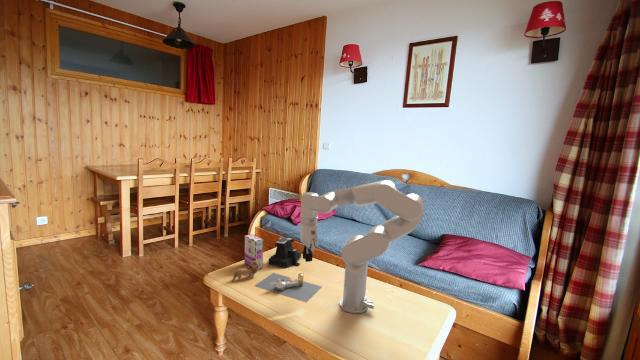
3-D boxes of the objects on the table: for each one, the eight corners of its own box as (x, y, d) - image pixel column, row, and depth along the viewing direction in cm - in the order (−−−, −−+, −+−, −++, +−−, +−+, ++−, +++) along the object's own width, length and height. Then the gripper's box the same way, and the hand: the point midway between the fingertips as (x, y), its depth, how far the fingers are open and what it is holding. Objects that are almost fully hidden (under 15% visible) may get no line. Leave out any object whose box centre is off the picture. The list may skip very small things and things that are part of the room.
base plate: (322, 289, 151) (322, 286, 151) (306, 304, 137) (306, 302, 136) (273, 274, 163) (273, 272, 163) (254, 288, 149) (254, 285, 148)
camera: (282, 233, 188) (305, 235, 181) (284, 256, 190) (306, 259, 183) (267, 241, 174) (290, 244, 167) (268, 266, 175) (292, 270, 169)
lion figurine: (255, 274, 162) (256, 258, 161) (261, 278, 158) (261, 261, 157) (228, 282, 153) (228, 265, 151) (233, 287, 149) (233, 269, 147)
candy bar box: (263, 268, 170) (263, 239, 167) (255, 271, 166) (255, 241, 164) (251, 261, 177) (252, 233, 175) (243, 263, 174) (244, 235, 171)
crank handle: (271, 293, 142) (271, 282, 141) (267, 286, 148) (267, 276, 147) (305, 287, 149) (305, 277, 148) (300, 281, 154) (301, 271, 153)
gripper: (324, 225, 133) (322, 266, 136) (310, 215, 148) (308, 252, 151) (308, 226, 130) (306, 268, 133) (294, 216, 145) (293, 254, 148)
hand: (307, 259), depth 142 cm, fingers open, 2 cm apart
